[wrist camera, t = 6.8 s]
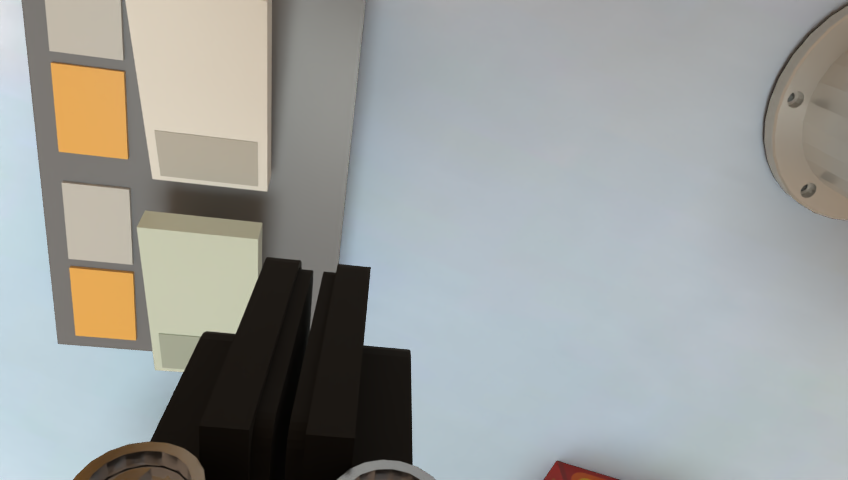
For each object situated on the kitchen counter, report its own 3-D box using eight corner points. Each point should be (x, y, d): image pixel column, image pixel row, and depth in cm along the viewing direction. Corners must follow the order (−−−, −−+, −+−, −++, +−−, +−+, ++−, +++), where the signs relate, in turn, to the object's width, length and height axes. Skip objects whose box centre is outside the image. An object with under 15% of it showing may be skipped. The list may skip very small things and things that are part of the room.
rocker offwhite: (272, -13, 25) (267, 2, 24) (271, 174, 31) (267, 192, 30) (132, -34, 24) (121, -19, 23) (159, 162, 31) (152, 180, 30)
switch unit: (368, -30, 32) (367, -20, 27) (331, 324, 40) (326, 379, 36) (56, -78, 30) (-4, -75, 25) (87, 303, 39) (46, 358, 34)
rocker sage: (262, 222, 30) (258, 240, 29) (260, 359, 35) (256, 378, 34) (144, 210, 29) (136, 228, 28) (161, 352, 35) (154, 371, 34)
